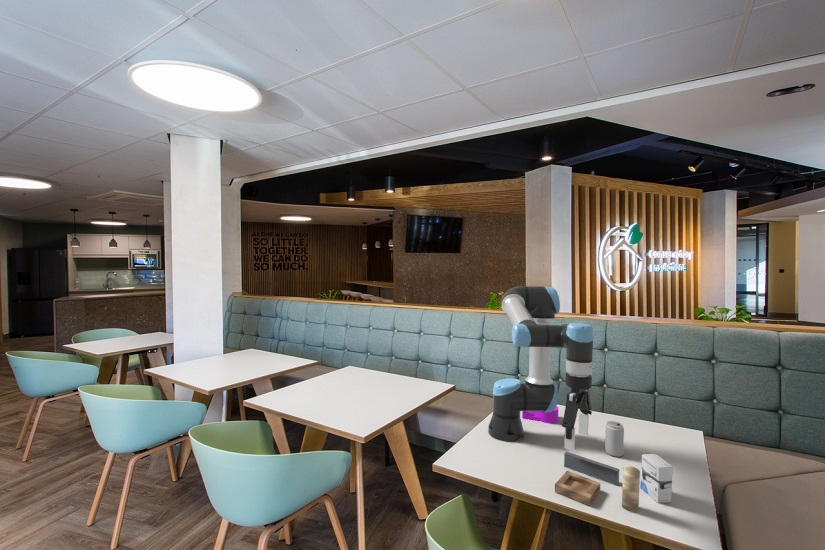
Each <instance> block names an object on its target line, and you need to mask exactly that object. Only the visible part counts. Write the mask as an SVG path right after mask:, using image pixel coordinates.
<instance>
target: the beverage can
mask: <svg viewBox="0 0 825 550" xmlns="http://www.w3.org/2000/svg"><path fill="white" fill-rule="evenodd" d="M624 434H625V428H624V425H623V424H622V423H621V422H618V421H614V420H613V421H612V420H609V421H607V422H606V424H605V436H604V437H605V439H604V450H605V452H606V453H607V455H610V456H612V457H616V458H617V457H621V456H623V455H624V439H625V435H624Z"/></svg>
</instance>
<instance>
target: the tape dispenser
mask: <svg viewBox="0 0 825 550" xmlns="http://www.w3.org/2000/svg"><path fill="white" fill-rule="evenodd" d="M521 413H522V414H521V415H522V416H521V418H523V420H528V419H529V420H530V421H534V420H535V422H540V421H541V422H540V423H544V424H557V423H558V422H559V407H558V406H556V408H555V409H554V411H552V412H544V413H543V412H528V411H521Z"/></svg>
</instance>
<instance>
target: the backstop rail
mask: <svg viewBox="0 0 825 550" xmlns="http://www.w3.org/2000/svg"><path fill="white" fill-rule="evenodd" d="M563 467H564V468H567V469H568V470H569V469H570V470H573V471H575V472H578V473H580V474H583V475H586V476H588V477H592V478H594V479H596V480H600V481H603V482H606V483H608V484H611V485H614V486H617V487H618V486H619V485H620V469H619V468H617V467H614V466H610V465H608V464H605V463H603V462H599V461H597V460H593V459H591V458H587V457H584V456H581V455H579V454H576V453H572V452H570V451H565V452H564V454H563Z"/></svg>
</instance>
